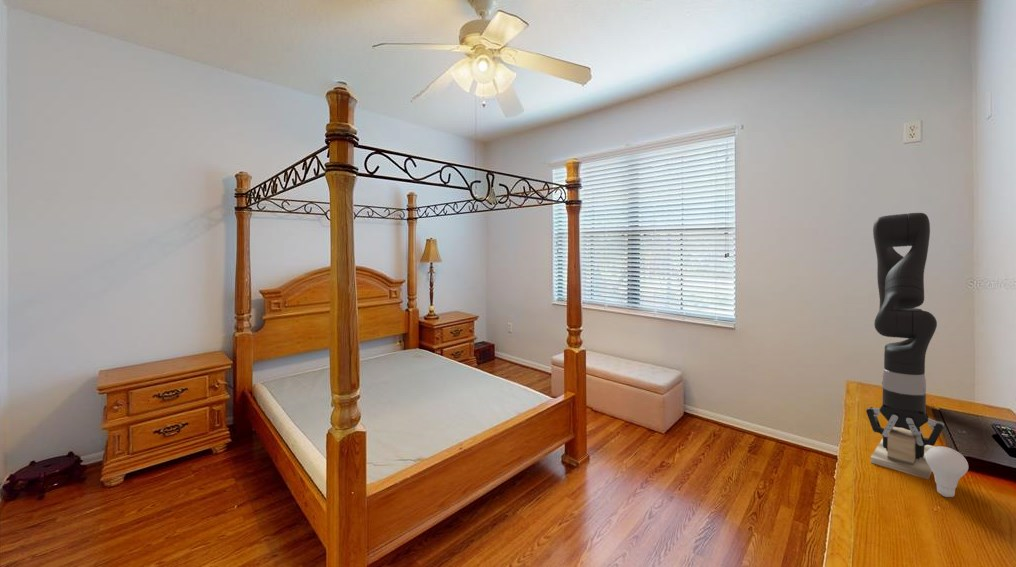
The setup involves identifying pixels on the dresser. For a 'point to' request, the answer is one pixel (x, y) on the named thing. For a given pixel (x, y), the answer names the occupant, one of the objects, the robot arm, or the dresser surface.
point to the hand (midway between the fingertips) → (902, 453)
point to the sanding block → (901, 446)
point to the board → (917, 469)
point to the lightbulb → (946, 468)
